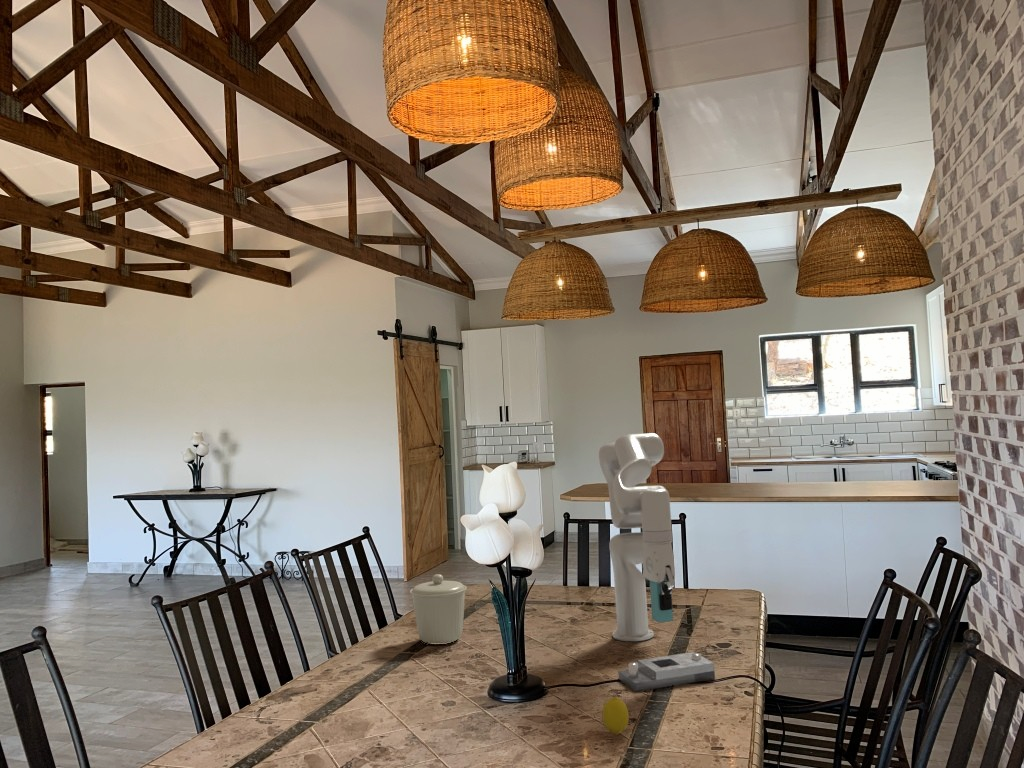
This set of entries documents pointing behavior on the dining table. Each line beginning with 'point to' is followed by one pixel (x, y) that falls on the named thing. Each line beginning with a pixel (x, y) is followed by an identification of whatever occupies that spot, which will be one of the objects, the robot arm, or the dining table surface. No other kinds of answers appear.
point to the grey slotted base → (667, 671)
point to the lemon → (615, 715)
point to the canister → (439, 609)
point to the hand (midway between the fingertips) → (661, 607)
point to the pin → (655, 604)
